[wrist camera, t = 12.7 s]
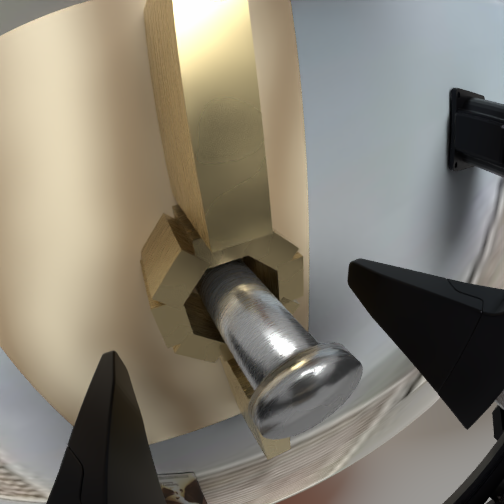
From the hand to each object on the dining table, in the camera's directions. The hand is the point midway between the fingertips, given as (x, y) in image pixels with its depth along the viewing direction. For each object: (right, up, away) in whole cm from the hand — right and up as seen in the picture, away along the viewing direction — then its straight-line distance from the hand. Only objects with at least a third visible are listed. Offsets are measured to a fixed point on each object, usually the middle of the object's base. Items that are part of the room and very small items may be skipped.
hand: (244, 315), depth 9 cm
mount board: (-4, 0, +3) cm, 6 cm away
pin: (-2, +2, +3) cm, 4 cm away
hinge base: (-2, +5, +1) cm, 5 cm away
